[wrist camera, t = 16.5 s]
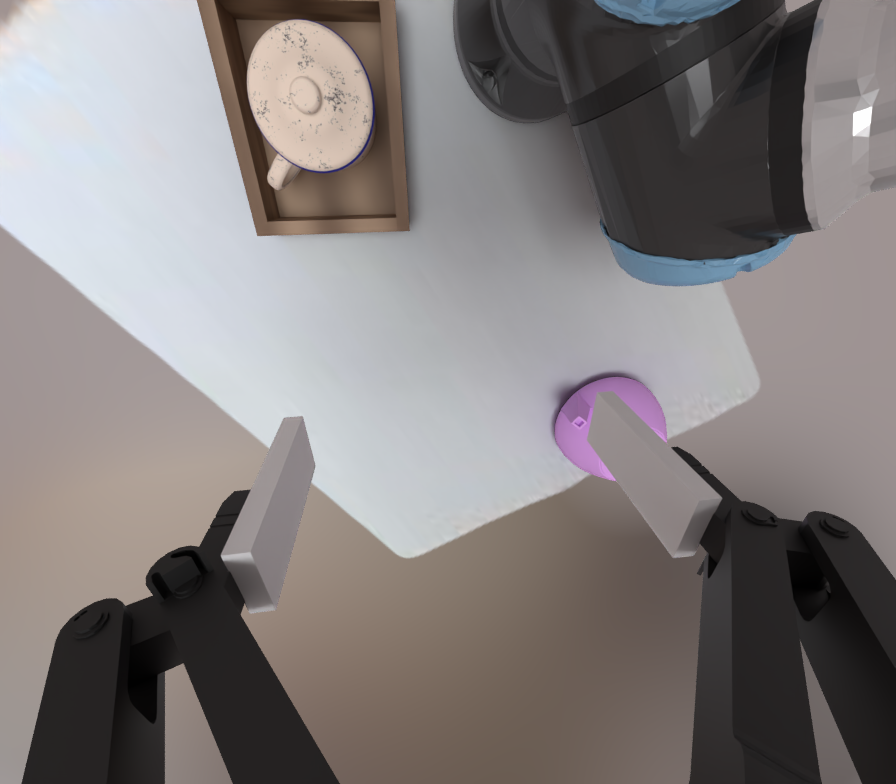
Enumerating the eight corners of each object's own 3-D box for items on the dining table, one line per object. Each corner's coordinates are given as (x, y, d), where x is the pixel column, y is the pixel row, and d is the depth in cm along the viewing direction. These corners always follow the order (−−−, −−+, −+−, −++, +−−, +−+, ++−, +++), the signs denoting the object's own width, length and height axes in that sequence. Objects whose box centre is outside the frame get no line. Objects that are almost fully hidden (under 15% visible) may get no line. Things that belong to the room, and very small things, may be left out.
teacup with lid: (312, 25, 32) (274, -46, 22) (398, 113, 35) (399, 88, 25) (244, 150, 35) (185, 139, 25) (328, 218, 39) (305, 232, 29)
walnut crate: (393, 8, 32) (393, -21, 28) (407, 224, 41) (409, 230, 36) (221, 4, 31) (189, -28, 26) (273, 229, 40) (257, 236, 35)
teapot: (676, 408, 60) (736, 456, 49) (607, 473, 65) (648, 528, 55) (584, 341, 51) (632, 382, 41) (514, 421, 57) (541, 475, 47)
